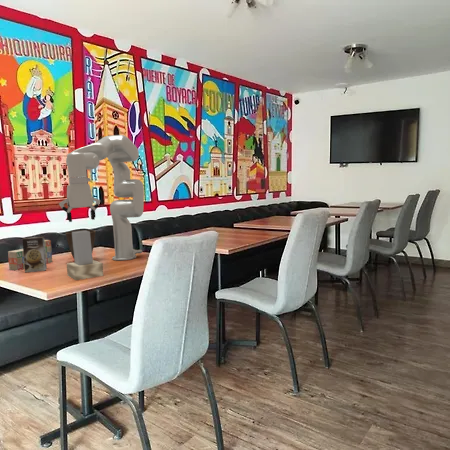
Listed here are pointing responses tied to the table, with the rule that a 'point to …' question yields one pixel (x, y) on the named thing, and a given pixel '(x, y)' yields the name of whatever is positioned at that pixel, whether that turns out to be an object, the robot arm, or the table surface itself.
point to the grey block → (82, 247)
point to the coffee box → (34, 254)
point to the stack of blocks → (18, 257)
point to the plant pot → (70, 241)
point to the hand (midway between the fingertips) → (81, 220)
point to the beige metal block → (85, 270)
